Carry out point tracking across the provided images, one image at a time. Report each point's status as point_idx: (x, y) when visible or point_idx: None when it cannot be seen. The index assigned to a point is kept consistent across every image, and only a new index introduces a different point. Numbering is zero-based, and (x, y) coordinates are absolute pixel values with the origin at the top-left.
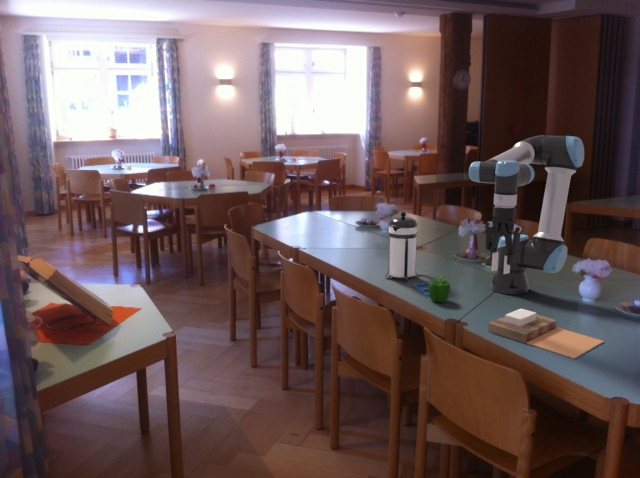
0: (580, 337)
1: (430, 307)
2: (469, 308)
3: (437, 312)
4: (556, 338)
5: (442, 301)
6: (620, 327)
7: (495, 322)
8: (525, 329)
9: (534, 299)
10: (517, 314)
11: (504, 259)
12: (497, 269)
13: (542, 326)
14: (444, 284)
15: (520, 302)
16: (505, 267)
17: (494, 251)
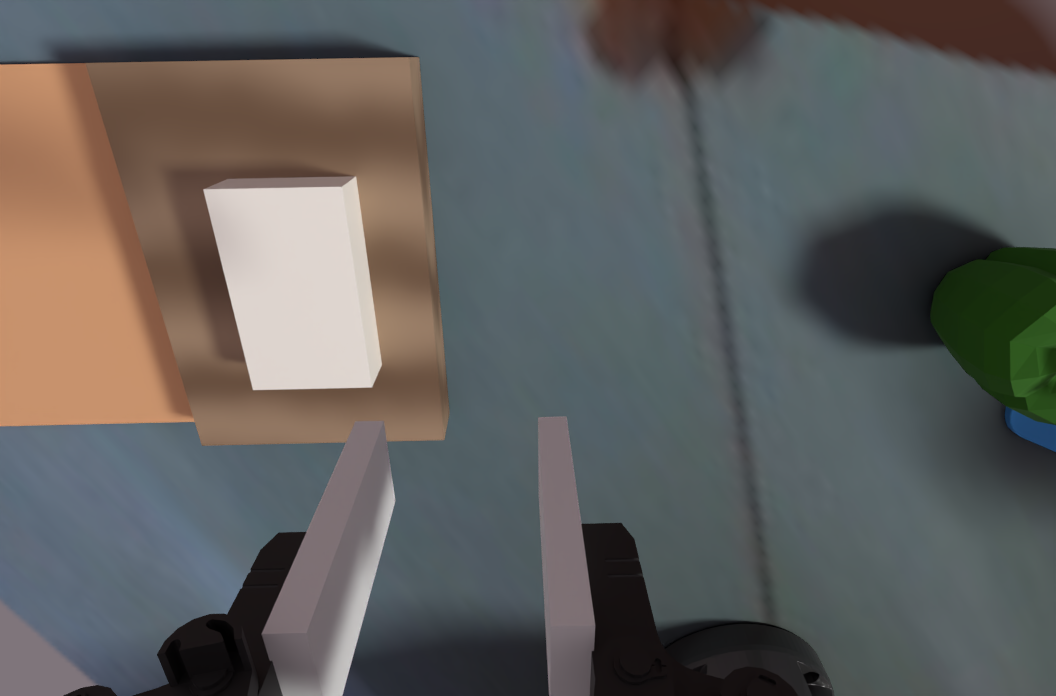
0: (41, 385)
1: (980, 140)
2: (748, 326)
3: (890, 90)
4: (84, 274)
5: (948, 275)
6: (87, 620)
7: (384, 108)
8: (166, 155)
9: None
10: (296, 265)
11: (326, 569)
12: (539, 501)
13: (157, 293)
14: (1040, 349)
15: None
16: (335, 478)
17: (592, 690)
